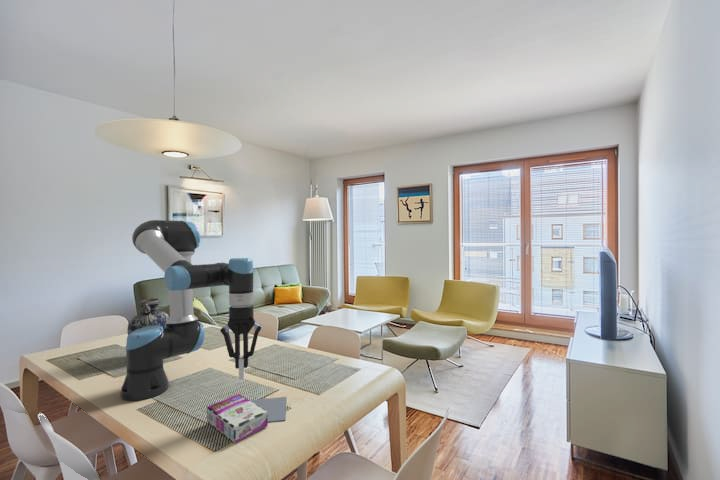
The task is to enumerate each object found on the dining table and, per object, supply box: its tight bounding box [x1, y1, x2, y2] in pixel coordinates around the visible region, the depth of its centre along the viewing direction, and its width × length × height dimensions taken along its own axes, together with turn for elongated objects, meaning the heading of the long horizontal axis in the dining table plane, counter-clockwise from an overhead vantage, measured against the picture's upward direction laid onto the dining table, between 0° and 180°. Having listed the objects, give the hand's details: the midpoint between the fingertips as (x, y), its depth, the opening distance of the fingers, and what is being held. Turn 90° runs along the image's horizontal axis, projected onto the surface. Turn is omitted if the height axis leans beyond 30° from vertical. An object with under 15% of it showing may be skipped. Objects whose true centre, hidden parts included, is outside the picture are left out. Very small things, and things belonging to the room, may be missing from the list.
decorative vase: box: [126, 297, 170, 336], centre depth 167 cm, size 21×19×28 cm
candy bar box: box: [206, 393, 269, 444], centre depth 104 cm, size 11×5×16 cm
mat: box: [249, 396, 287, 423], centre depth 113 cm, size 18×16×1 cm
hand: (241, 377), depth 112 cm, fingers closed
